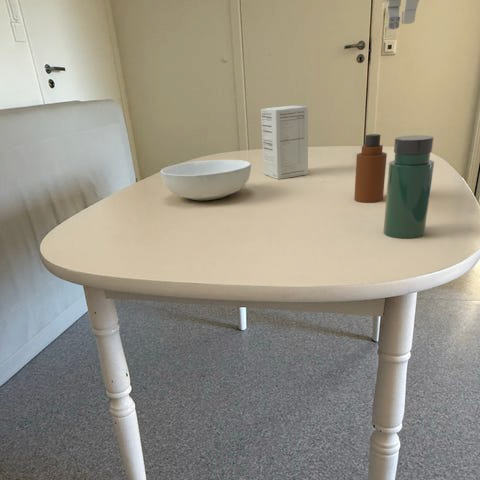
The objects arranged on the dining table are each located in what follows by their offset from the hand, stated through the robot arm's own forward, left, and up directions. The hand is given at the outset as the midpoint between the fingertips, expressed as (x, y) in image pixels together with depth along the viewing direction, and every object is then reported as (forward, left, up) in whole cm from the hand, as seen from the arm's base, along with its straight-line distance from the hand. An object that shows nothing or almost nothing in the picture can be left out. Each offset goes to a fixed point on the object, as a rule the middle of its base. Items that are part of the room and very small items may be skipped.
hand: (399, 26), depth 77 cm
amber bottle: (+3, -2, -30) cm, 30 cm away
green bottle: (+2, +21, -30) cm, 37 cm away
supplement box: (+19, -34, -30) cm, 49 cm away
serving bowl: (+38, -13, -30) cm, 50 cm away
